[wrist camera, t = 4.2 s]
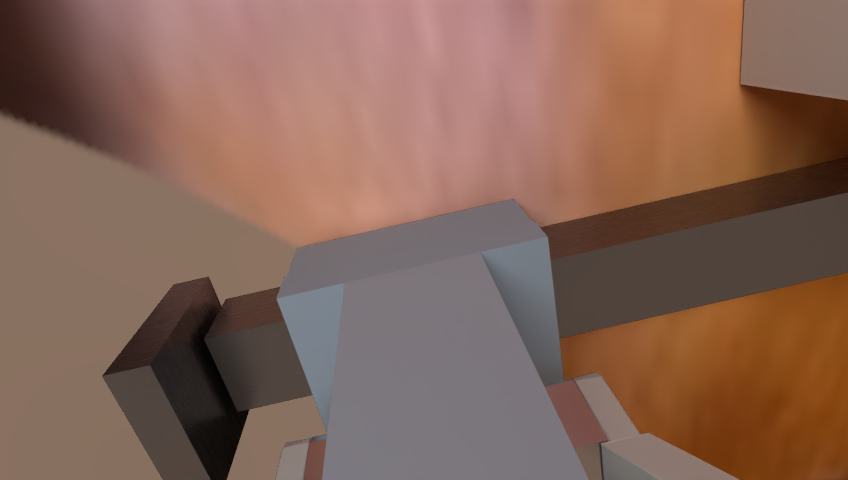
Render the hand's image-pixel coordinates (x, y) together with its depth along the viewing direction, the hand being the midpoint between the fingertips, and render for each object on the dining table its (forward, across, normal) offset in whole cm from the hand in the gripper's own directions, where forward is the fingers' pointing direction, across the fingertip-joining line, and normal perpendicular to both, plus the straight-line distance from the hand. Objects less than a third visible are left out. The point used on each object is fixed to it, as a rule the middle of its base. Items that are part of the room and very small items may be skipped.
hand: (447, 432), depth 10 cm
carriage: (+6, 0, 0) cm, 6 cm away
